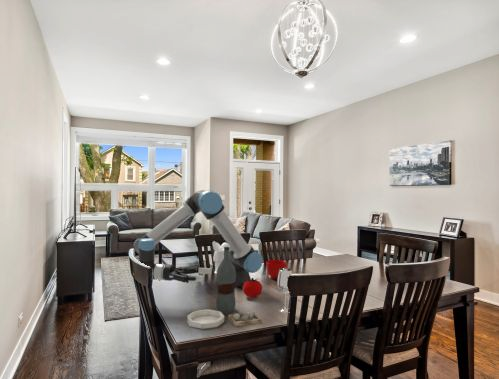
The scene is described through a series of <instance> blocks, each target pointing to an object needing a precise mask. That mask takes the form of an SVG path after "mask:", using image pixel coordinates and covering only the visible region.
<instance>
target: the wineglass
mask: <svg viewBox="0 0 499 379" xmlns="http://www.w3.org/2000/svg"><path fill="white" fill-rule="evenodd" d="M291 274H292V275H293V271H292V269H291V268H289V267H288V268H281V269H280V270H279V274H278V279H276V280H277V281H276V287H277V289H278V291H279V292H280V293H281V294H283V298H284V299H283V308H280V309H279V312H281V313H289V312H288V309H289V308H287V306H286V304H287V303H286V302H287V300H286V298H287V294H289V293H290V292H289V291H288V287H287V276H288V275H291Z"/></svg>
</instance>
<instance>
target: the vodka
mask: <svg viewBox="0 0 499 379" xmlns="http://www.w3.org/2000/svg"><path fill="white" fill-rule="evenodd" d="M229 249H230V246H229V247H224V259H223V261H222V262H221V264H220V265H219V267H218V270H217V274H216V282H217V283H216V285H217V287H216V288H217V293H216V301H215V304H216V311H220V312H221V313H222V314H224V313H225V314H226V313H227V314H228V313H232V312H234V311H235V310H236V295H235V289H236V287H235V280H236V272H235V267H234V266H233V264H232V262H231V261H230V259H229Z"/></svg>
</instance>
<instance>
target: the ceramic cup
mask: <svg viewBox="0 0 499 379" xmlns="http://www.w3.org/2000/svg"><path fill="white" fill-rule="evenodd" d="M265 263H266V266H265V267H266V272H267V274H268V275H269V278H271V279H274V280H277V279H278V274H279V270H280V269H281V268H289V266H287V261H285V260H281V259H271V260H270V259H269V260H266V262H265Z"/></svg>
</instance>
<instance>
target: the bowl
mask: <svg viewBox="0 0 499 379" xmlns="http://www.w3.org/2000/svg"><path fill="white" fill-rule="evenodd" d="M186 322H187V325H188V327H189V328H192V327H193V328H197V329H202V330H204V329H211V328H218V327H219V326H221V325H222V324H223V323H224V322H225V315H224V313H222V312H220V311H217V310H216V309H215V310H214V309H207V308H206V309H198V310H194V311H193V312H191V313H189V314H187V316H186Z"/></svg>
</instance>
